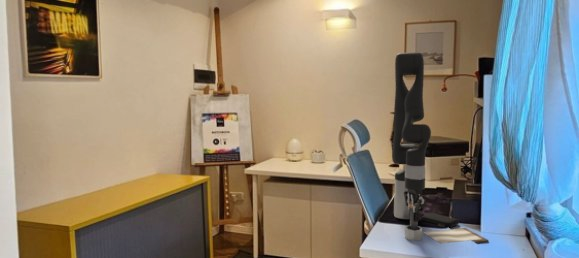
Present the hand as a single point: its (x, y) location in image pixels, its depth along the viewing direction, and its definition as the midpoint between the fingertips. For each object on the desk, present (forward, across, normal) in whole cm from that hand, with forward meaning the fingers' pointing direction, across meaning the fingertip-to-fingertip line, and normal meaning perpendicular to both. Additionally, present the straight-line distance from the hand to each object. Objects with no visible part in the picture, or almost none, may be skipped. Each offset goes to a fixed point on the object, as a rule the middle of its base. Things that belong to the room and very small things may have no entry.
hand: (413, 219), depth 177 cm
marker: (+5, 0, 0) cm, 5 cm away
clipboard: (+8, +1, +16) cm, 18 cm away
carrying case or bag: (+9, -16, +20) cm, 28 cm away
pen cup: (+8, 0, 0) cm, 8 cm away
